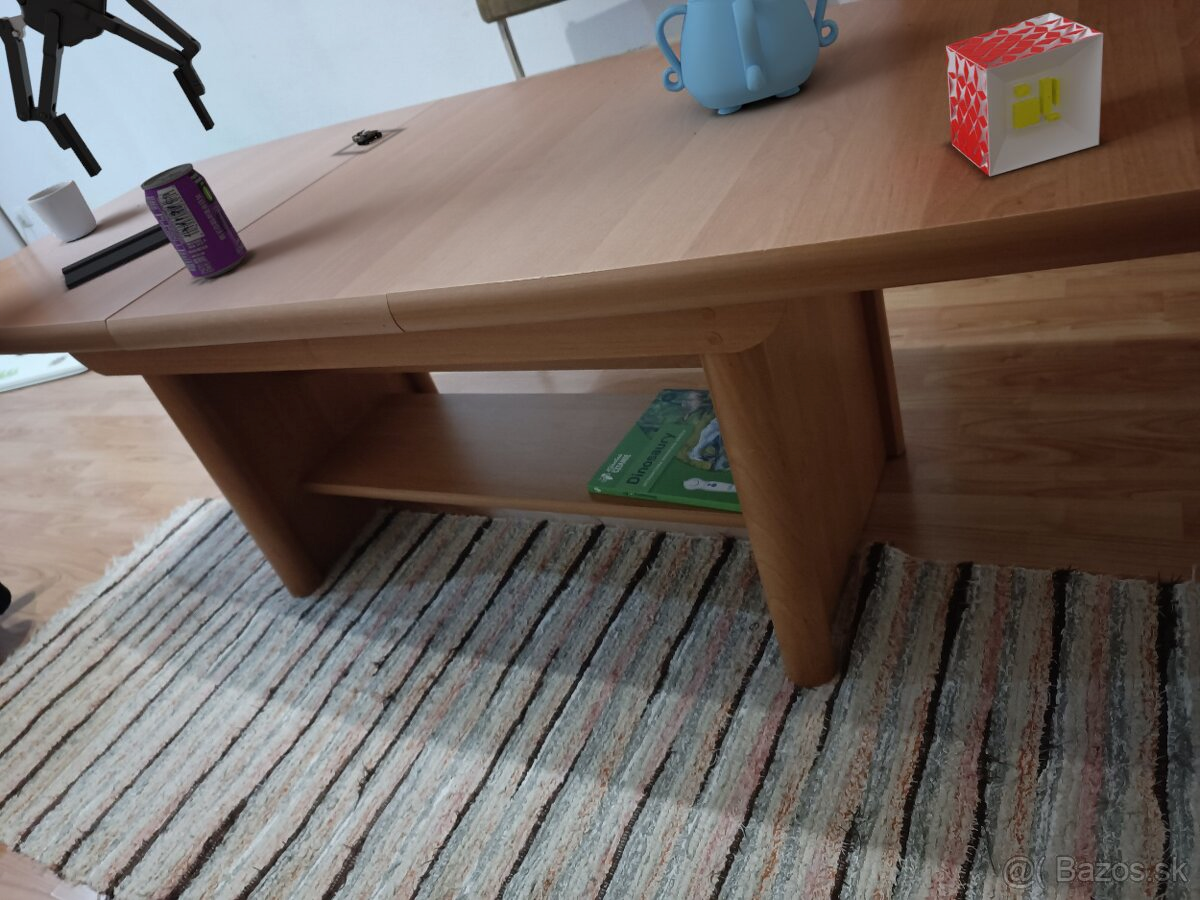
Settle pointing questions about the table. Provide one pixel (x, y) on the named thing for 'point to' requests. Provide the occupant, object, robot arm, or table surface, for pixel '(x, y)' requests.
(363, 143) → the toy car
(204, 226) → the beverage can
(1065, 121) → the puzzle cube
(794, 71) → the decorative pot
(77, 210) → the cup
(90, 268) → the slotted black track
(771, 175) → the table surface
